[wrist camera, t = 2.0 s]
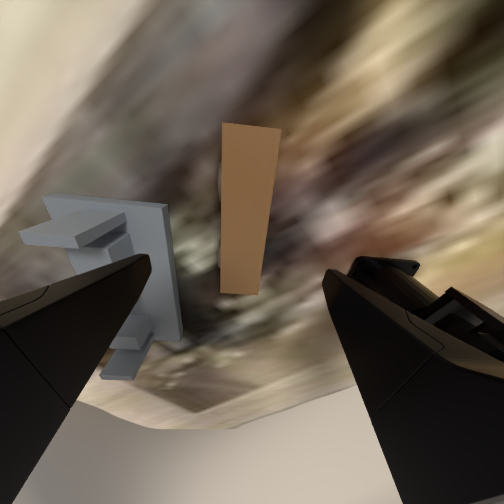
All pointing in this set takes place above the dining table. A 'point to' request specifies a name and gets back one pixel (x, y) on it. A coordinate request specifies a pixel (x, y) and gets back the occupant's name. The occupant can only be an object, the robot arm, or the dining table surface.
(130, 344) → the display cradle
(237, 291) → the brown rectangular block
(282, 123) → the dining table surface
